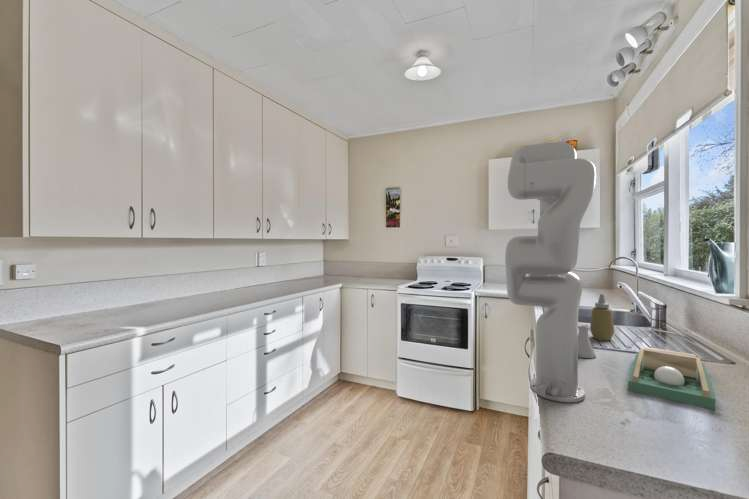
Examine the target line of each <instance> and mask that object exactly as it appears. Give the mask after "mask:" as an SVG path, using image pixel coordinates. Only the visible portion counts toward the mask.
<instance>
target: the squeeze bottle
mask: <svg viewBox="0 0 749 499" xmlns="http://www.w3.org/2000/svg"><path fill="white" fill-rule="evenodd" d="M589 326H590V327H589V330H590V332H591V335H592V337H593V339H595V340H598V341H603V342H604V341H611V340H612V339H613V336H614V334H615V328H614V327H615V325H614V317H613V311H612V309H610V304H609V303H607V301H606V298H605V294H604V293H599V297H598V302H594V307H593V308H592V309H591V318H590V325H589Z"/></svg>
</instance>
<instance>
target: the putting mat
mask: <svg viewBox="0 0 749 499" xmlns="http://www.w3.org/2000/svg"><path fill="white" fill-rule="evenodd" d="M654 373H655V370H650V369H644V347H643V348H641V347H640V348H639V350H638V352H637V351H636V352H635V355H634V359H633V363H632V366H631V370H630V373H629V377H628V384H627V390H628V391H630V392H634V393H639V394H643V395H648V396H652V397H658V398H661V399H665V400H671V401H674V402H679V403H683V404H687V405H692V406H696V407H701V408H706V409H710V410H715V411H716V397H715V393H714V390H713V386H712V384H711V380H710V376H709V373H708V370H707V367H706V363H705V362H702V360H701V357H699V356H696V378H693V377H688V376H683V377H684V381H685V382H684V386H679V385H671V384H666V383H662V382H659V381H656V380H655V379H654Z"/></svg>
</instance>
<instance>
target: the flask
mask: <svg viewBox="0 0 749 499" xmlns="http://www.w3.org/2000/svg"><path fill="white" fill-rule="evenodd" d="M589 330H590V327H589V326H587V325H578V358H583V359H584V358H585V359H595V358H597V355H596V353H595V351H594V348H593V345H592V342H591V340H590V334H589Z"/></svg>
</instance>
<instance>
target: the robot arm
mask: <svg viewBox="0 0 749 499" xmlns="http://www.w3.org/2000/svg"><path fill="white" fill-rule="evenodd" d="M596 171H597V170H596V166H595V164H594V162H592V161H591V160H589V159H585V158H577V152H576V149H575V148H574V146H573V145H572V144H570V143H568V142H566V141H550V142H541V143H535V144H527V145H522V146H521V147H518V148H517V149H515V151H514V153H513V155H512V157H511V161H510V165H509V171H508V176H507V188H508V189H507V190H508V193H509V195H510V197H511V198H513V199H515V200H518V201H519V200H520V201H521V200H538V201H539V218H538V220H537V235H523V236H514V237H512V238H511V239H509V241H508V242H507V244H506V247H505V254H504V255H505V256H504V257H505V277H506V278H505V280H506V291H507V297H508V299H509V301H510V302H511V303H512V304H515V305H517V306H518V305H519V306H525V307H526V306H528V307H529V306H530V307H542V308H546V310H544V312H542V314H541V315H539V317H538V319H537V320H536V323H535V335H536V336H535V355H536V356H535V364H536V365H535V366H536V367H535V371H536V372H535V373H536V374H535V378H534V379H532V380H531V381H530V382H529V388H530V390H531V391H532V392H533V393H534V394H536V395H537V396H539V397H542V398H543V399H547V400H550V401H554V402H558V403H559V402H560V403H578V402H581V401H583V400H584V399H585V398H586V392H585V390H584V389H583V388H582V387H580V386H579V383H578V382H579V378H578V377H579V376H578V375H579V368H578V367H579V364H578V363H579V357H578V333H579V328H578V326H579V310H580V304H581V299H582V292H583V284H582V283H583V282H582V280H581V278H580V277H579V276H578V275H577V274H575V273H574V272H573V271H574V269H575V268H576V265H577V263H578V255H579V241H580V229H581V228H580V227H581V224H582V223H581V222H582V221H583V217H584V216H585V214H586V212H587V210H588V208H589V206H590V204H591V202H592V198H593V195H594V192H595V186H596V182H597V181H596V179H597V172H596Z"/></svg>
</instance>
